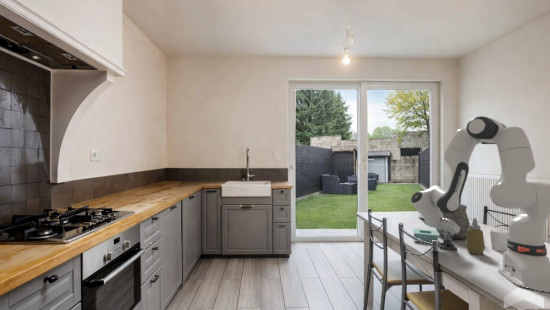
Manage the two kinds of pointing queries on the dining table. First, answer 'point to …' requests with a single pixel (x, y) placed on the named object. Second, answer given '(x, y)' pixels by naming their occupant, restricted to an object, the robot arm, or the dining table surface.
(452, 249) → the mount collar
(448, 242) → the spigot
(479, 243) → the squeeze bottle
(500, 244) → the white cup
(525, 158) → the robot arm
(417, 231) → the socket block
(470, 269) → the dining table surface
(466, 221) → the vessel
